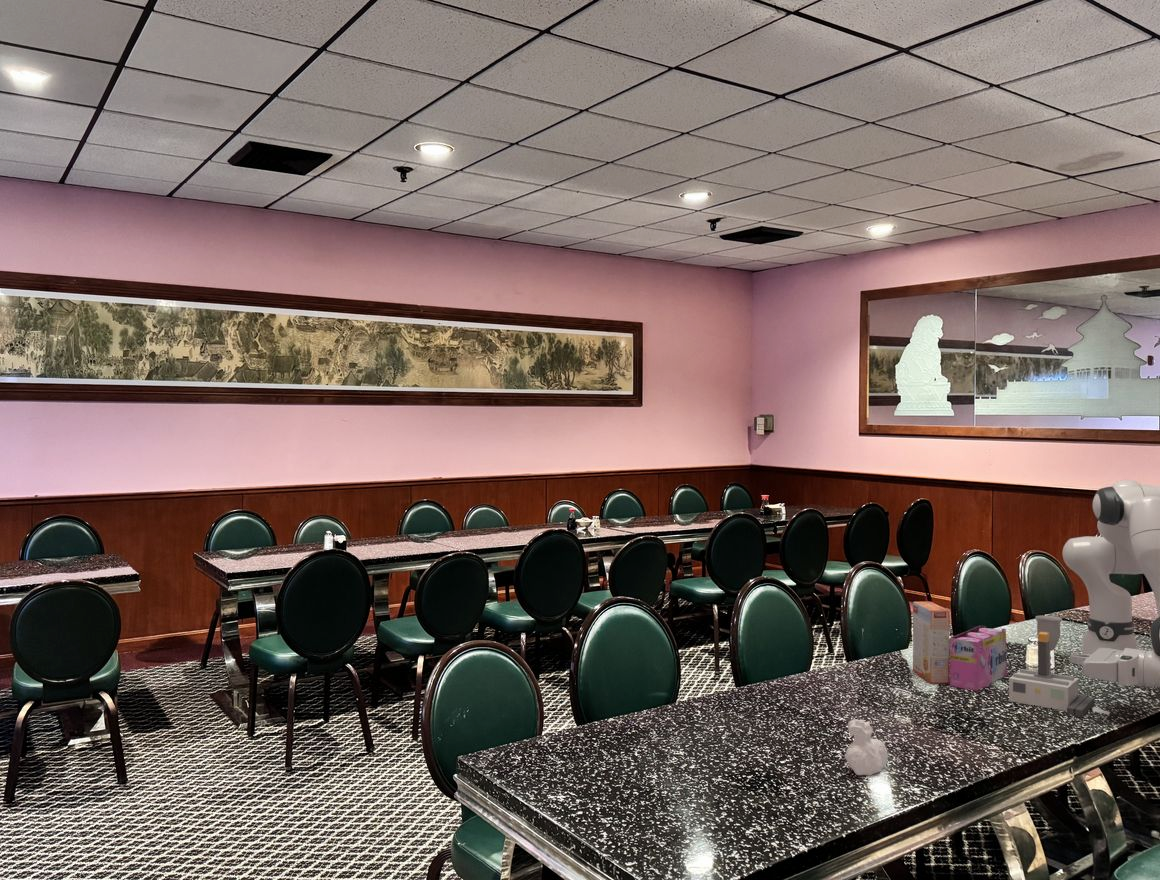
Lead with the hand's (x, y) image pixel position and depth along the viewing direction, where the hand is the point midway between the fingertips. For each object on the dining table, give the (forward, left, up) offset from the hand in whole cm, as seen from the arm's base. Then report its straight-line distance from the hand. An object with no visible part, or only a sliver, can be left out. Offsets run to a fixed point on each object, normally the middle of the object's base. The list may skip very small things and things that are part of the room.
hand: (1070, 657), depth 236 cm
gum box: (-11, -26, -13) cm, 31 cm away
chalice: (-22, -10, -13) cm, 27 cm away
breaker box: (0, -6, -12) cm, 14 cm away
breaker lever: (0, -6, -6) cm, 9 cm away
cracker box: (-5, -37, -13) cm, 40 cm away
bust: (+77, -22, -13) cm, 81 cm away
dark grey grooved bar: (0, +3, -12) cm, 13 cm away
